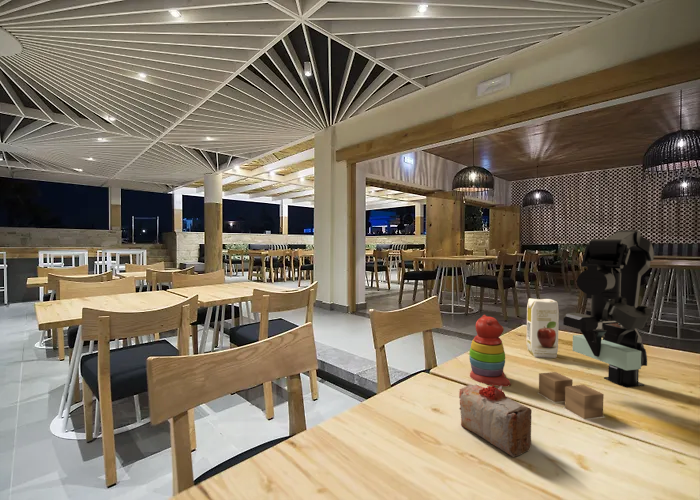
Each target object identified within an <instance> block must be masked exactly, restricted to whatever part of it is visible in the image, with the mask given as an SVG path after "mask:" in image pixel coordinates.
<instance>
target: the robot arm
mask: <svg viewBox="0 0 700 500" xmlns="http://www.w3.org/2000/svg"><path fill="white" fill-rule="evenodd" d="M588 242H589V243H587V244H586V246H585V250H584V253H583V257H582V261H581V263H580V267H584V268H587V269H585V270H583V271H581V272H580V274H579V275H578V277H577V279H576V283H577V287H578V288H579V290H580V291H581V292H583V293H584V294H586V299H590V310H589V309H586V312H585V314H583V313H581V312H580V313H579V312H573V313H566V314H564V316H563V326H566V327H569V328H570V327H571V328H573V329H577V330H579V331H580V332H581V335H584V337H585V339H586V341H587V343H588V344H589V346H590V348H591V350H592V352H593V354H594V356H596V357H599V355H600V350H601V339H602V340H606V341H609V342H612V343H616V344H619V345H622V346H626V347H629V348H632V349H636V350H639V351H641V368H642V367H645V366H648V354H647V350H646V349H645V346H644V343H642V342H643V341H642V336H641V335H640V332H639V331H638V329H639V330H643V329H644V328H647V327H648V323H652V322H653V319H652V316H653V315H652V314H653V313H652V308H651V307H649V306H647V305H639V299H640V289H641V281H642V280H641V279H642V276H643V275H644V274H646V272H647V271H648V270H649V269H650V268H651V267H650V266H651V262H653V261H654V255H655V253H654V252H655V251H654V247H653V244H652V241H650V240H649V239H647V238H646V237H644V236H642V234H641V232H640V230H636V229H619V230H615V232H614V233H613V234H611V235H610V236H608V237H607V238H592V239H590V240H589V241H588ZM602 336H603V337H602ZM607 372H608V376H604V377H603V379H604V380H606V381H608V382H610V383H611V382H612V383H613V384H617V385H618V386H620V387H623V388H626V389H627V388H635V387H637V388H638V387H644V386H645V384H644V383H642V382H640V381H639V372H640V369H636V370H624V369H621V368H619V367H616V366H613V365H610V364H608V371H607Z"/></svg>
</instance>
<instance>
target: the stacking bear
mask: <svg viewBox="0 0 700 500" xmlns="http://www.w3.org/2000/svg"><path fill="white" fill-rule="evenodd" d="M504 330H505V328H504V327H503V325H501V324H500V323H499V321H498V320H497V319H496V318H495V317H492V316H487V315H486V314H483V315H482V316H481V317H480V318H478V319H477V321H476V322H475V332H476V334H477V335H476V336H475V335H474V337H473V339H472V340H471V345H470V349H469V362H470V368H471V370H470V373H469V377H470V379H472V380H474V381H475V382H477V383H481V384H484V385H488V386H493V385H494V387H495V386H496V387H500V386H501V387H502V388H505V387H508V388H509V386H510V387H511V382H510V380H509V379H508V378H507V377H506V374H505V372H504V367H505V363H506V353H505V348H504V344H503V340H502V339H501V338H500V337H501V336H502V334H503V333H504Z"/></svg>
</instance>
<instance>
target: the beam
mask: <svg viewBox="0 0 700 500" xmlns="http://www.w3.org/2000/svg"><path fill="white" fill-rule="evenodd" d="M572 352H575V353H577V354H581V355H584V356H586V357H588V358H591V359H593V360H597V361H600V362H603V363H605V364H608V365H609V364H610V365H613V366H616V367H619V368H621V369H624V370H636V369H639V370H641V369H642V367H641V351H639V350H636V349H632V348H629V347H626V346H622V345H619V344H616V343H612V342H609V341H606V340H603V338H601V350H600V355H599V357H596V356H594V354H593V352H592V350H591V348H590V346H589V344H588V343H587V341H586V339H585V337H584V335H583V334H576V335H575V334H573V335H572Z"/></svg>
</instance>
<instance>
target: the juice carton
mask: <svg viewBox="0 0 700 500" xmlns="http://www.w3.org/2000/svg"><path fill="white" fill-rule="evenodd" d="M559 315H560V313H559V303H558V301H556V300H554V299H551V298H540V299H539V298H531V297H530V298H528V302H527V307H526V348H527V352H528V351H529V352H530V354H531V355H532V356H533V358H549V359H550V358H551V359H556V358H557V355H558V352H559V317H560V316H559ZM529 352H528V353H529Z"/></svg>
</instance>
